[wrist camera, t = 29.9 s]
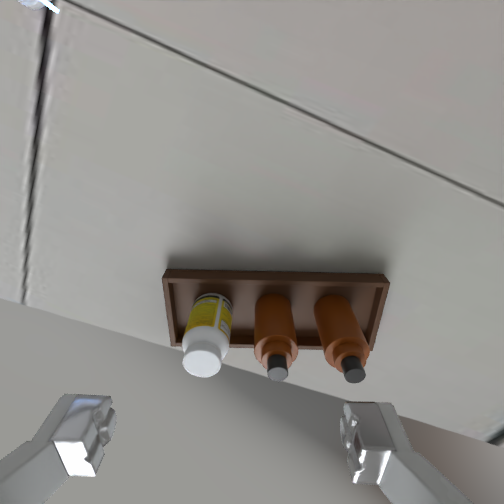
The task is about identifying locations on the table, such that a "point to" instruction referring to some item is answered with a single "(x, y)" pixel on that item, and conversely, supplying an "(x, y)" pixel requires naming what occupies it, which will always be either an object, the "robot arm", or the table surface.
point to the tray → (270, 282)
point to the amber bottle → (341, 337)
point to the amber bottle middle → (275, 335)
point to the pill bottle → (207, 335)
